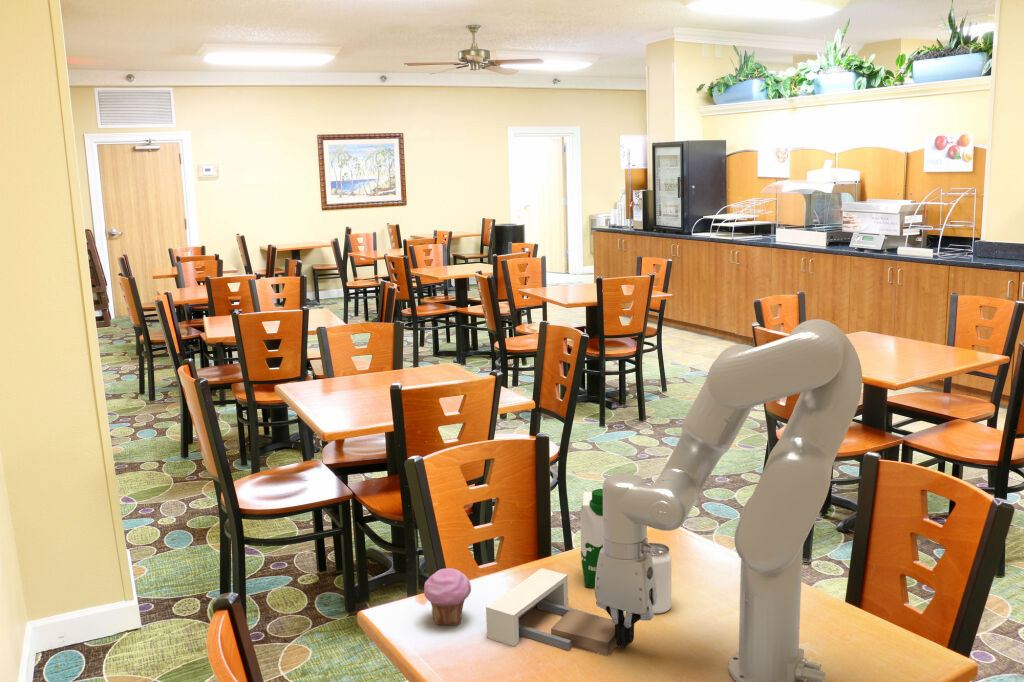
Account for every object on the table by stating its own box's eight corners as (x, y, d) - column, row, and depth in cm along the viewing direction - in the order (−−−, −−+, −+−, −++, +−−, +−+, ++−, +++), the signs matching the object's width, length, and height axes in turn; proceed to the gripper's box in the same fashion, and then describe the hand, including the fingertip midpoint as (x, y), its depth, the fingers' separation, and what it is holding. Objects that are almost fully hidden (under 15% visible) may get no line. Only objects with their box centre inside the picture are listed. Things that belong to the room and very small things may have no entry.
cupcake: (422, 632, 161) (420, 581, 159) (428, 609, 169) (426, 561, 167) (470, 631, 160) (468, 581, 159) (473, 609, 169) (472, 561, 167)
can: (670, 616, 164) (671, 556, 162) (636, 613, 166) (636, 554, 163) (671, 600, 170) (672, 542, 168) (638, 597, 172) (638, 540, 170)
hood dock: (608, 615, 165) (608, 585, 164) (557, 660, 150) (556, 628, 149) (542, 596, 173) (541, 568, 172) (487, 637, 158) (485, 607, 157)
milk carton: (580, 589, 176) (579, 496, 172) (581, 570, 185) (580, 480, 181) (624, 590, 175) (623, 496, 171) (623, 571, 184) (623, 481, 180)
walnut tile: (624, 637, 158) (624, 622, 157) (607, 658, 151) (607, 642, 150) (570, 624, 163) (569, 609, 162) (551, 644, 156) (551, 628, 156)
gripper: (673, 547, 149) (672, 645, 152) (596, 529, 157) (597, 623, 160) (655, 563, 142) (654, 665, 146) (576, 544, 151) (577, 641, 154)
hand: (624, 643), depth 153 cm, fingers closed
